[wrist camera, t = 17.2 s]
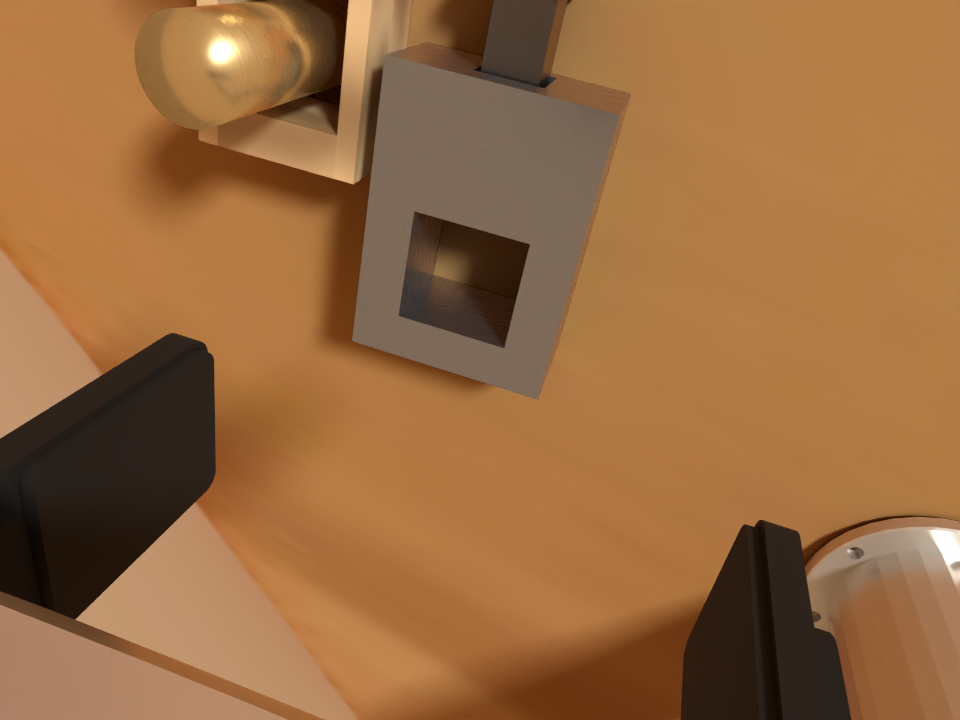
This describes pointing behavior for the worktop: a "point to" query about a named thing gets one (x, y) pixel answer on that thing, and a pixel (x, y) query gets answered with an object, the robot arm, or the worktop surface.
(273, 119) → the rack
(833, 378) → the worktop surface
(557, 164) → the socket block
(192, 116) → the gold cylinder
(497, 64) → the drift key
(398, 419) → the worktop surface
